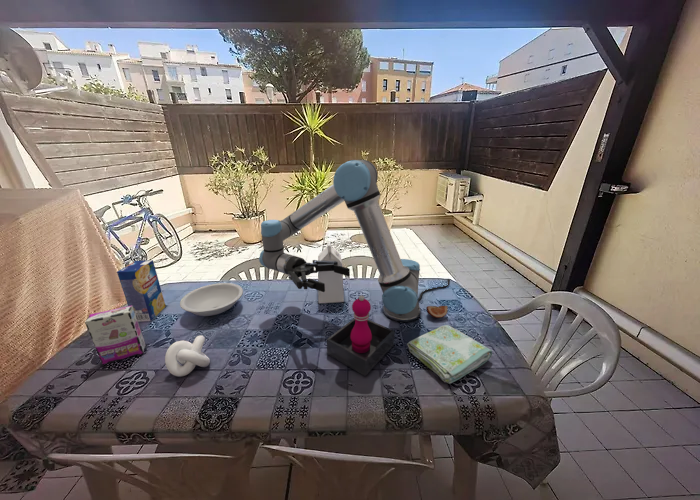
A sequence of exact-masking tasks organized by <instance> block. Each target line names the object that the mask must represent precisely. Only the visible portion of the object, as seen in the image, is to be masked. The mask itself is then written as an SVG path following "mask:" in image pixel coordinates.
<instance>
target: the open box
mask: <svg viewBox="0 0 700 500" xmlns="http://www.w3.org/2000/svg"><path fill="white" fill-rule="evenodd" d="M367 323H368V326H369V328H370V330H371V334H372V340H371V341H370V349H369V351H367V352H365V353H357V352H355V351H354V350H353V349H352V341H351V338H350V336H351V331H352V329H353V327H354V325H355V318H354V317H353V319H351V320H350V321H348V323H346V324H345V325H343V326H342V327H341V328H340V329H338V330H337V331H336V332H334V333H333V334H332V335H330V336H329V337H328V338H326V354H327V355H328V356H330V357H332V358H333V359H335V360H337V361H339V362H340V363H342V364H343V365H345V366H347V367H349V368H350V369H352V370H353V371H355V372H356V373H359V374H360V375H363V376H364V377H366V376H367V375H368V374H369V373H370V372H371V371H372V370H373V368H374V367H375V366H377V364H378V363H379V362H380V361H381V360H382V359H383V358H384V357H385V355H387V353H388V352H390V350H391V349H392V348H393V347H394V346H395V335H396V331H395V330H394V329H392V328H389V327H387V326H385V325H382V324H380V323H378V322H376V321H373V320H371V319H369V318H368V319H367Z"/></svg>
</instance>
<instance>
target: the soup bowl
mask: <svg viewBox="0 0 700 500" xmlns="http://www.w3.org/2000/svg"><path fill="white" fill-rule="evenodd" d="M243 293H244V289H243V287H242V286H240V285H239V284H237V283H233V282H218V283H210V284H206V285H203V286H201V287H198V288H195V289H193V290H191V291H189V292H188V293H186V294H185V295H184V296H182V298H181V300H180V301H179V306H180V308H181V309H182V310H183V311H185V312H189V313H191V314H193V315H196V316H200V317H211V316H216V315H220V314H222V313H225V312H227V311H228V310H230V309H231V308H233V307H234V305H235V304H236V303H237V302H238V300H240V299H241V297H242V296H243Z"/></svg>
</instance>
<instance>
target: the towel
mask: <svg viewBox="0 0 700 500" xmlns="http://www.w3.org/2000/svg"><path fill="white" fill-rule="evenodd" d="M406 346H407V347H408V352H409V353H410V354H412V355H413V356H414V357H416V358H417V360H419V361H420V362H421V363H422V364H424V365H425V366H426V367H427V368H429V369H430V370H431V371H433V373H434V374H436V375H437V376H438V377H439V379H440V380H441V381H443V382H444V383H446V384H449V385H451V384H453V383H455V382H457V381H458V380H460V379H462V378H463V377H465V376H467V375H468V374H470V373H472V372H473V371H475V370H477V369H478V368H480V367H481V366H483V365H485V364H486V363H487V362H488V361H489V360H490V359H491V358H492V356H493V350H492V349H490V348H488V347H487V346H485V345H484V344H483V343H480V342H479V341H477V340H475V339H474V338H472V337H470V336H468V335H466V333H464V332H462V331H460V330H459V329H456V328H454V327H452V326H450V325H448V324H444V325H441V326H438V327H437V328H435V329H433V330H431V331H428V332H426V333H424V334H422V335H419V336H417V337H416V338H414V339H411V340H410V341H409V342H408V343H407V344H406Z"/></svg>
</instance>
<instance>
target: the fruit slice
mask: <svg viewBox="0 0 700 500" xmlns="http://www.w3.org/2000/svg"><path fill="white" fill-rule="evenodd" d="M448 309H449V307H448V305H439V306H436V305H428V306H426V313H427V314H428V315H429V316H430V317H432V318H435V319H440V318H443V317H445V316H446V315H447V314H448Z"/></svg>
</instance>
